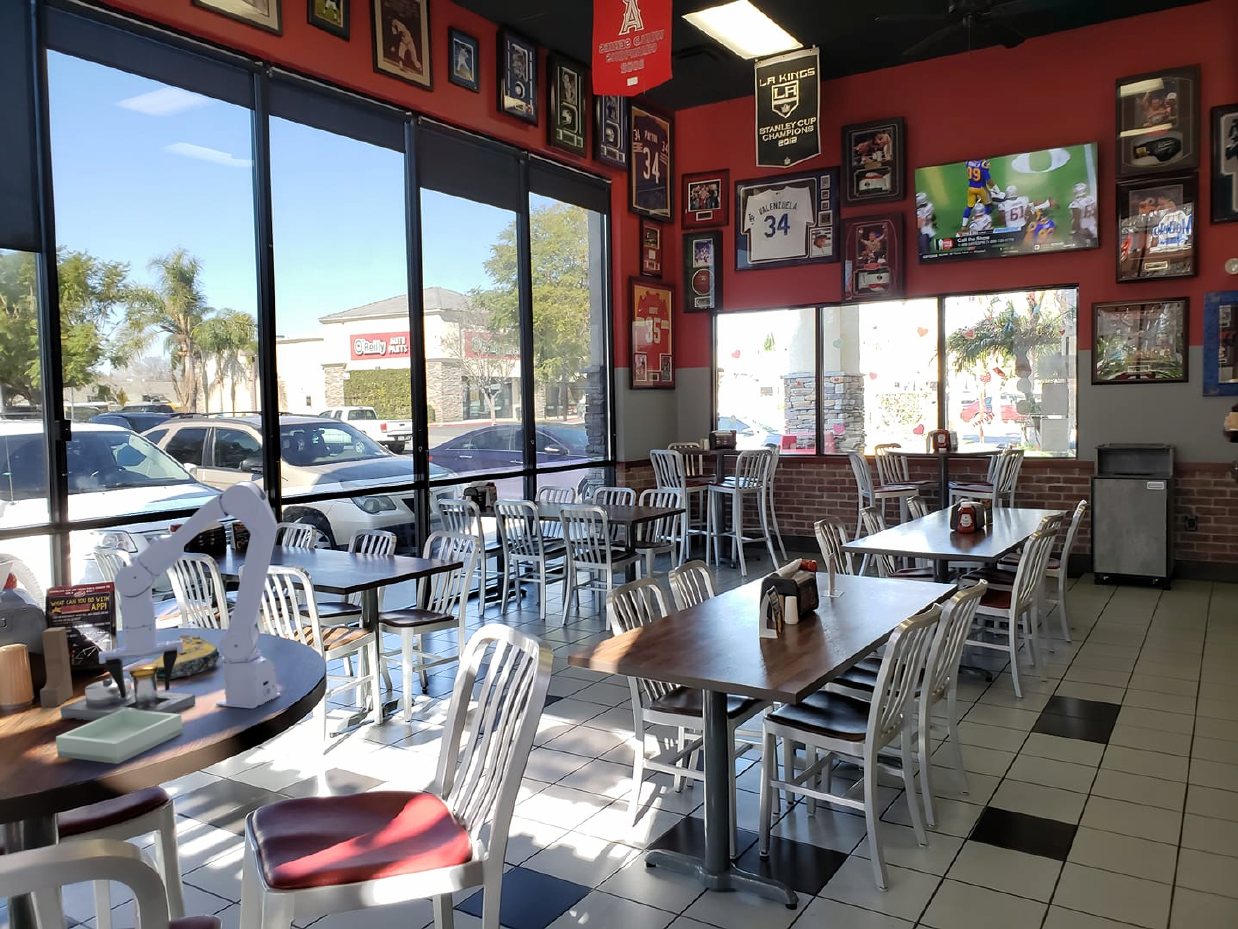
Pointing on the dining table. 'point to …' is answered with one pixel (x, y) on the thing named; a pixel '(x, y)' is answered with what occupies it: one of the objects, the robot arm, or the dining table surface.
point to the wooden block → (56, 668)
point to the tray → (119, 735)
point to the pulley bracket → (120, 701)
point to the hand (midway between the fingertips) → (145, 692)
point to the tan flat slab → (190, 658)
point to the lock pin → (145, 685)
